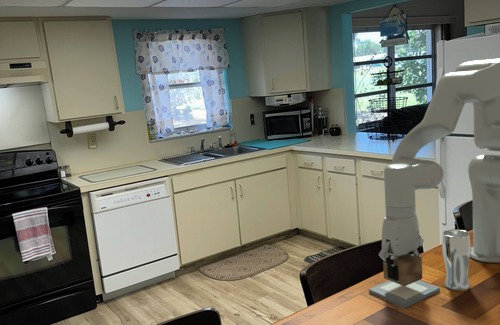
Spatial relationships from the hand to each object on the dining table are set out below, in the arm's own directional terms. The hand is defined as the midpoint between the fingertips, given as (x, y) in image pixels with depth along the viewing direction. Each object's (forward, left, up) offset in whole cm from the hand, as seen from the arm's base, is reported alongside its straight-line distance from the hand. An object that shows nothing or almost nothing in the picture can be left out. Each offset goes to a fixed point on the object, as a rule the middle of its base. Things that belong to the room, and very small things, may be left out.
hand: (402, 274), depth 125 cm
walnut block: (0, 0, -1) cm, 1 cm away
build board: (0, 0, -5) cm, 5 cm away
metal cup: (-13, +7, -5) cm, 16 cm away
